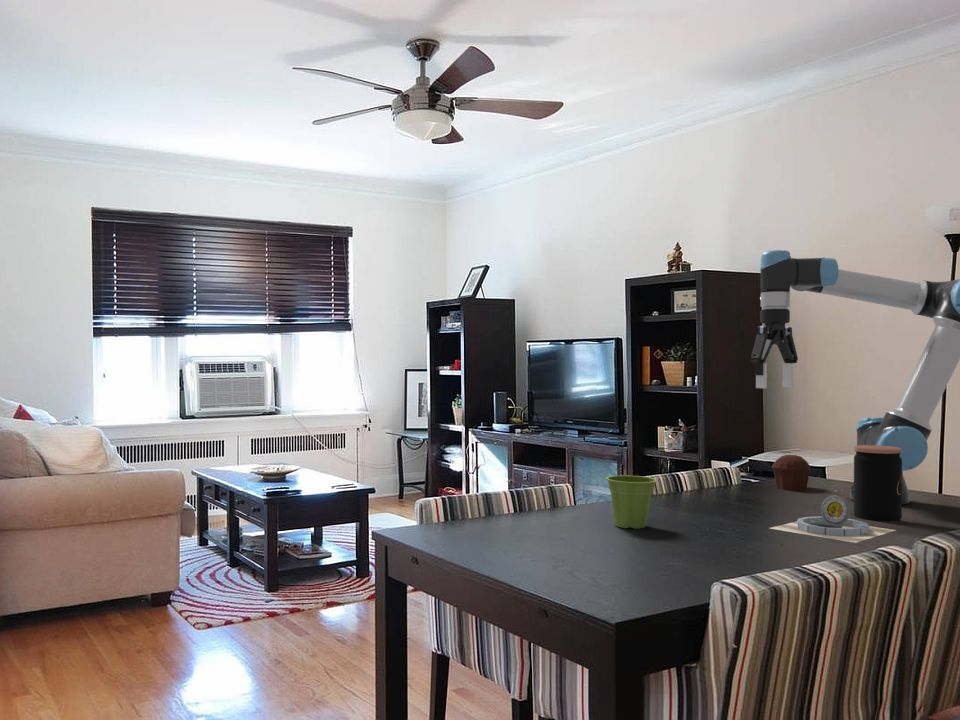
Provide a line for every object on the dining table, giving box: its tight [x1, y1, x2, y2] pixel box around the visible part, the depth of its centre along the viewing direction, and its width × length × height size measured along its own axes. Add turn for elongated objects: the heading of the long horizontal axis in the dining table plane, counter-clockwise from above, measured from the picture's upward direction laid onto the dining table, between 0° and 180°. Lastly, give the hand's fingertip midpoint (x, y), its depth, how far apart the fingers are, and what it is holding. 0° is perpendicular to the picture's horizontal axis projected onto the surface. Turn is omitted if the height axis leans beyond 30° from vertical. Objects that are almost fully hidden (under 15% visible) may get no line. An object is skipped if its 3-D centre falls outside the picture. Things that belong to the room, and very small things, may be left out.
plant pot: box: [605, 475, 658, 530], centre depth 203 cm, size 12×12×11 cm
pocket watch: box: [811, 484, 851, 528], centre depth 194 cm, size 8×8×10 cm
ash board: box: [768, 521, 897, 544], centre depth 195 cm, size 20×20×1 cm
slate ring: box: [797, 515, 870, 536], centre depth 195 cm, size 15×15×2 cm
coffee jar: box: [853, 445, 903, 522], centre depth 210 cm, size 11×11×18 cm
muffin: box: [771, 454, 812, 491], centre depth 263 cm, size 12×11×10 cm
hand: (774, 387), depth 232 cm, fingers open, 13 cm apart
